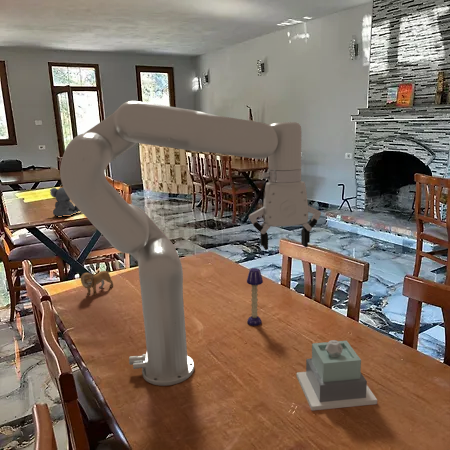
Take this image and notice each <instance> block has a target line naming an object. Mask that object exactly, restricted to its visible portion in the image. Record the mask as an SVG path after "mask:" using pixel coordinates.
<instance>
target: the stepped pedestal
mask: <svg viewBox="0 0 450 450" xmlns="http://www.w3.org/2000/svg"><path fill="white" fill-rule="evenodd" d="M337 341H338V340H337ZM328 342H329V341H328ZM328 342H326V341H325V342H314V343H311V358H306V360H305V363H306V364H305V365H306V366H305V371H300V372H296V378H297V380H298V384H299V385H300V388H301V390H302V392H303V394H304V396H305V399H306V401H307V403H308V406H309V408H310V410H311V411H320V410H321V411H323V410H330V409H331V410H332V409H341V408H351V407H360V406H370V405H378V399H377V398H376V396H375V394H374V393H373V392H372V390H371V389H370V387H369V386H368V384H367V383H368V380H367V379H366V378H365V376H364V375H363V374H362V372H361V370H362V359H361V358H360V356H359V355H358V353H356V351H355V350H354V348H353V347H352V346H351V344H350V343H349V342H348V340H339V341H338V342H339V343H340V344H341V346H342V347H343V350H342V353H341V355H340V356H339V357H331V356H330V355H329V354H328V353H327V351H326V350H325V349H326V346H327V344H328Z"/></svg>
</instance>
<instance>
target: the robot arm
mask: <svg viewBox="0 0 450 450" xmlns="http://www.w3.org/2000/svg"><path fill="white" fill-rule="evenodd" d="M136 144H141V145H149V146H154V147H155V146H157V147H164V148H171V149H177V150H184V151H189V152H198V153H212V154H213V153H214V154H219V155H220V154H222V155H228V156H234V157H241V158H248V159H249V158H250V159H255V160H262V159H266V158H267V159H268V161H267V162H268V165H267V166H268V168H267V171H266V172H262V174H261V176H262V179H264V180H268V182H266V183H265V187H264V194H263V204H262V205H263V206H261V208H259V209H257V210H254V212H252V213H250V214H249V215H248V218H249V220H250V222H251V224H252V225H253V227H254V228H255V229H256V230H257V231H258V232H259V233H260V245H261V246H262V247H263V250H265V251H268V250H269V234H268V231H269V229H270V228H271V227H275V228H278V227H292V226H302V228H301V233H300V234H301V241H300V243H301V245H302V246H303V247H304V248H308V246H309V245H308V244H309V243H310V242H311V241H310V240H311V235H310V234H311V233H310V232H311V231H312V230H313V229H312V228H314V227H315V225H317V223H318V220H319V219H320V217H321V215H322V212H321V211H320V210H318V209H316V208H314V207H312V206H310V205H309V203H308V193H307V187H306V182H305V181H302V126H301V124H300V123H299V122H297V121H281V122H280V121H279V122H278V121H277V122H273V123H265V122H261V121H255V120H248V119H242V118H236V117H235V118H234V117H229V116H222V115H217V114H212V113H207V112H204V111H200V110H199V111H198V110H195V109H187V108H182V107H175V106H169V105H163V104H156V103H149V102H144V101H137V100H129V101H125V102H124V103H122V104H121V105H120V106H119V107H118V108H117V109H116V110H114V112H113V113H111V114H110V115H109V116H107V117H106V118H105V119H103V120H101V121H99V123H97V124H96V125H94V126H93V127H91V128H90V129H89V130H87V131H85V132H84V133H82V134H78V135H76V136H75V137H74V138H73V139H71V141H69V143H68V145H67V146H66V148H65V150H64V153H63V156H62V157H61V163H60V169H59V175H60V181H61V185H62V188H64V190H65V192H66V194H67V195H68V197H69V198H70V202H71V203H72V204H73V205H74V207H75V206H76V207H77V208H78V209H79V210H80V211H81V214H83V215H84V216H85V217H86V218H87V219H88V221H89V222H90V223H91V224H92V225H93V226H94V228H95V229H96V230H98V231H99V233H101V235H102V236H103V237H104V238H105V239H106V240H107V241H108V243H109V244H110V245H111V246H112V247H113V248H114V249H116V250H117V251H118V252H120V253H123V254H126V255H127V254H129V255H131V257H133V259H135V260H136V262H137V266H138V276H139V277H138V278H139V279H138V280H139V287H140V295H141V307H142V316H143V326H144V335H145V346H146V353H142V355H133V356H132V355H131V356H129V358H128V364H129V365H130V366H131V365H132V368H133V369H134V370H135V369H136V370H137V369H141V373H142V374H141V375H142V378H143V379H144V380H145V381H146V382H147V383H150V384H152V385H154V386H155V385H156V386H163V387H164V386H165V387H166V386H172V385H177V384H180V383H182V382H184V381H186V380H187V379H189V377H191V376H192V375H193V373H194V371H195V363H194V360H193V358H192V357H190V356H188V351H187V350H188V348H187V334H186V319H185V318H186V317H185V308H184V307H185V306H184V304H185V303H184V290H183V289H184V287H183V286H184V285H183V284H184V273H183V272H184V271H183V266H182V261H181V258H180V255H179V253H178V252H177V251H178V250H176V247H175V245H174V244H173V242H172V241H171V240H170V238H168V236H167V235H166V234H165V233H164V232H163V231H162V230H161V229H160V227H159V226H158V225H157V224H156V223H155V222H154V221H153V220H152V219H151V217H150V216H149V215H148V213H146V212H145V211H144V210H143V209H141V208H140V207H139V206H137V205H135V204H130V203H128V202H127V201H126V200H125V199H124V197H122V195H121V194H120V192H118V190H117V189H116V188H115V187H114V186H112V185H111V184H110V182H109V181H108V180H107V177H106V174H105V170H106V168H107V167H108V165H109V164H110V163H112V162H113V161H115V160H116V159H117V158H119V157H120V156H122V154H123V155H124V153H126V152H127V151H129V150H130V149H132V147H134V146H136ZM309 213H310V214H312V217H311V218H310V219H309ZM261 216H262V217H263V222H262V223H261V224H260V223H259V222H258V221H257V218H259V217H261Z"/></svg>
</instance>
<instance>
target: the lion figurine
mask: <svg viewBox="0 0 450 450" xmlns="http://www.w3.org/2000/svg"><path fill="white" fill-rule="evenodd" d="M105 281H106V282H107V283H109V284H110V285H109V287H110V288H113V287H114V283H113V280H112V278H111V275H110V273H109V272H108V271H106V270H101V271H99V272H98V273H96V274H93V273H91V272H84V273H82V275H81V276H80V282H81V284H82V286H83V288H85V289H87V293H86V295H91V292H92V290H93V292H92V296H96V295H97V285H99V284H100V283H101V285H100V286H99V287H98V288H99V289H103V287H104V285H105ZM91 288H92V290H91Z"/></svg>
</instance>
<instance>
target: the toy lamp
mask: <svg viewBox="0 0 450 450" xmlns="http://www.w3.org/2000/svg"><path fill="white" fill-rule="evenodd" d="M263 283H264V281H263V276H262V271H261V270H260V268H258V267H254V268H253V267H252V268H250V269H249V271H248V275H247V279H246V284H248V285H250V286H251V298H250V299H251V305H250V306H251V314H250V315H251V316H250V317H248V319H247V320H246V321H247V325H249V326H255V327H256V326H260V325H261V324H262V323H263V322H262V319H261V317H260V316H258V304H259V303H258V291H259V289H258V286H261V285H262V284H263Z"/></svg>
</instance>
